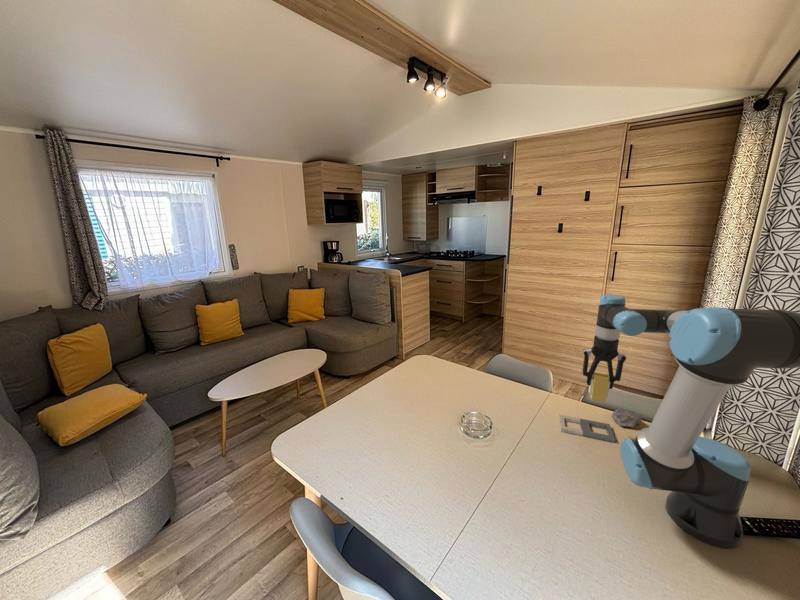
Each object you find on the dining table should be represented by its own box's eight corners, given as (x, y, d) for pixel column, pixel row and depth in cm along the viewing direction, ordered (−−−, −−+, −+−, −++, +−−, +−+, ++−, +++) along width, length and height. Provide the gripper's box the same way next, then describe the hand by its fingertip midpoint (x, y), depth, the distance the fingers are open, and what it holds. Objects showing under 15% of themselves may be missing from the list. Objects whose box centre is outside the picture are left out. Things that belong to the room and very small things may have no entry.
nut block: (605, 402, 117) (609, 378, 114) (591, 399, 119) (594, 376, 116) (603, 396, 121) (607, 372, 118) (589, 393, 123) (593, 370, 120)
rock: (642, 422, 128) (643, 413, 127) (631, 432, 122) (632, 423, 121) (617, 412, 135) (619, 403, 134) (606, 421, 129) (607, 412, 128)
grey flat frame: (614, 442, 116) (615, 439, 116) (560, 431, 123) (561, 428, 122) (609, 426, 125) (609, 424, 125) (559, 416, 132) (559, 414, 131)
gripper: (633, 336, 113) (623, 393, 119) (578, 330, 120) (571, 385, 126) (638, 344, 107) (627, 404, 112) (580, 337, 114) (572, 394, 119)
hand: (597, 394), depth 119 cm, fingers closed on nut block, 4 cm apart
